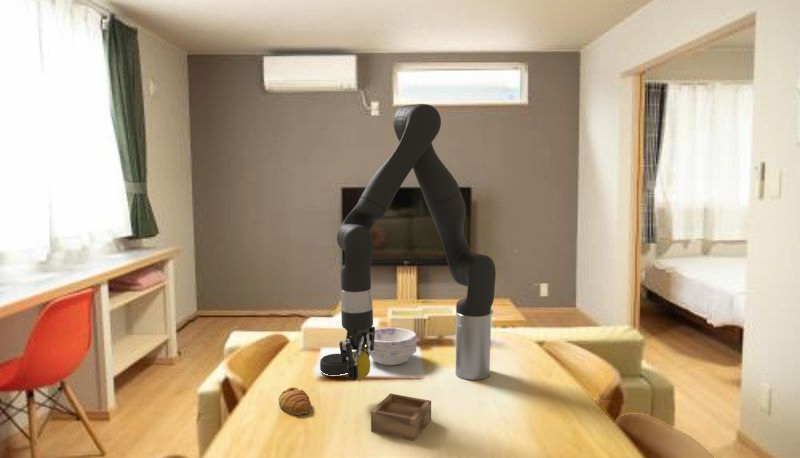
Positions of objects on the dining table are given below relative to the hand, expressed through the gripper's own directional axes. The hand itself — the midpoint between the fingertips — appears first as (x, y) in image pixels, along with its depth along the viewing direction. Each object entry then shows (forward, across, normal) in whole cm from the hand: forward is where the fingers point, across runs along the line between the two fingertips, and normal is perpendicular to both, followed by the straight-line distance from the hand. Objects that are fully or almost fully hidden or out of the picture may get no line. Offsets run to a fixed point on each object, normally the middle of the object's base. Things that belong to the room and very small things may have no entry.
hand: (359, 374), depth 134 cm
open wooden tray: (+6, -9, -15) cm, 18 cm away
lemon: (+2, 0, 0) cm, 2 cm away
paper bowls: (+7, +27, +4) cm, 29 cm away
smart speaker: (+7, +13, +14) cm, 21 cm away
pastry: (+6, -10, +12) cm, 17 cm away
